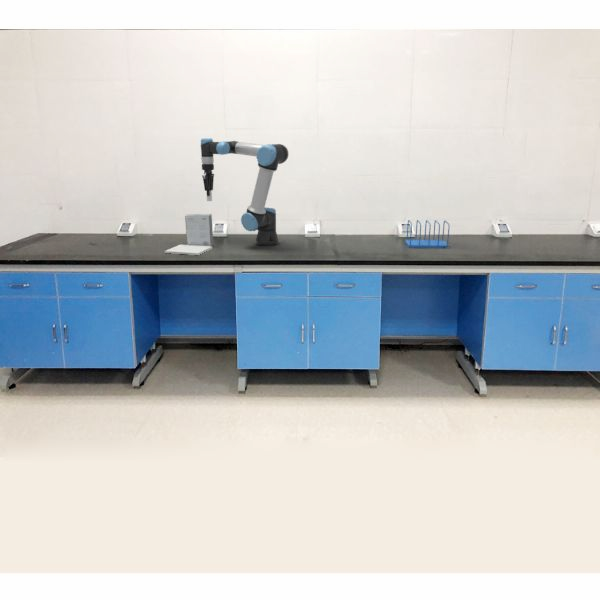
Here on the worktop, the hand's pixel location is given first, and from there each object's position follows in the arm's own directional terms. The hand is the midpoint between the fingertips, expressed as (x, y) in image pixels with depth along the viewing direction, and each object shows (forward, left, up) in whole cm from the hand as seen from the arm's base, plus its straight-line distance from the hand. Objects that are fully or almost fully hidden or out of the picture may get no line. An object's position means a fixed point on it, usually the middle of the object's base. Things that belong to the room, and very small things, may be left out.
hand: (209, 200), depth 380 cm
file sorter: (-138, -25, -27) cm, 142 cm away
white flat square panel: (0, +32, -26) cm, 42 cm away
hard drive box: (0, +17, -27) cm, 31 cm away
